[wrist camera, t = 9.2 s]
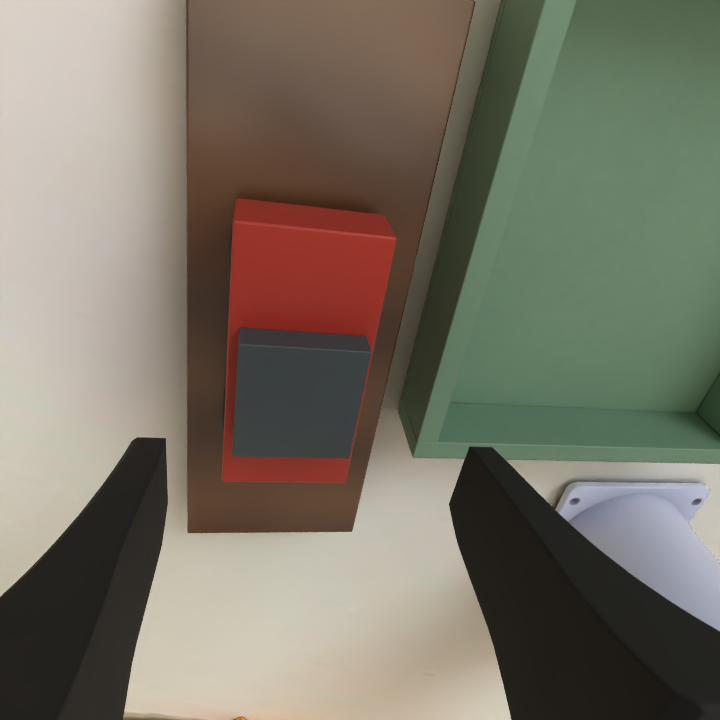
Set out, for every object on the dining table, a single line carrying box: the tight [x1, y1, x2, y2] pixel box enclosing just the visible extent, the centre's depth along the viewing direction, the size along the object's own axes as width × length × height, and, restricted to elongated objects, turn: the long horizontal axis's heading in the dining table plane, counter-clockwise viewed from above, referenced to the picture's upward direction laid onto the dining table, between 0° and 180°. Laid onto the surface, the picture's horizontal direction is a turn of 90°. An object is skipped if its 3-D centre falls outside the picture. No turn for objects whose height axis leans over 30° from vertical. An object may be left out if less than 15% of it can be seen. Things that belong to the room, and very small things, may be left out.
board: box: [186, 0, 475, 533], centre depth 19 cm, size 20×7×2 cm, turn 170°
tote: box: [398, 0, 720, 464], centre depth 19 cm, size 17×15×3 cm
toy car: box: [222, 198, 397, 483], centre depth 17 cm, size 9×4×3 cm, turn 170°
